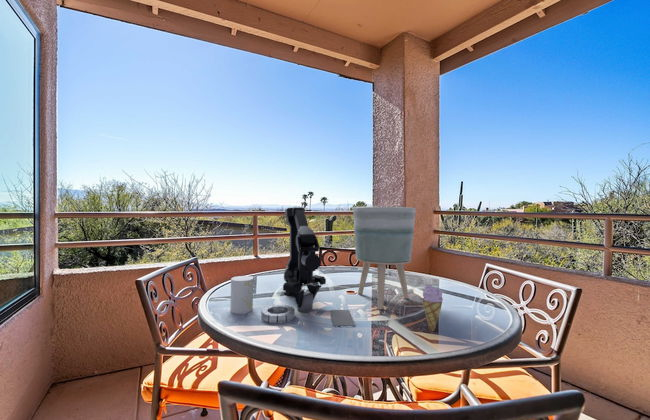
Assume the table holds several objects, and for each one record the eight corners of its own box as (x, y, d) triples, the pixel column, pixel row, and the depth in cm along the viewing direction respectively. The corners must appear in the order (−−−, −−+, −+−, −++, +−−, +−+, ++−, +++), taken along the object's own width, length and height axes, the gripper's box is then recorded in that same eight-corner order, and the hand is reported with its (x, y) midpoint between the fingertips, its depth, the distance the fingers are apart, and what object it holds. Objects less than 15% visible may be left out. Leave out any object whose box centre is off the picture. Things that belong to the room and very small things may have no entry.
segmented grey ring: (279, 309, 110) (279, 302, 110) (300, 316, 103) (301, 309, 103) (254, 317, 101) (255, 310, 101) (276, 326, 94) (277, 318, 94)
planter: (418, 297, 130) (420, 208, 130) (406, 315, 106) (408, 207, 106) (363, 288, 142) (364, 207, 142) (341, 303, 118) (343, 206, 119)
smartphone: (333, 325, 94) (329, 309, 109) (333, 328, 94) (329, 312, 109) (355, 325, 95) (349, 309, 110) (355, 328, 95) (349, 312, 110)
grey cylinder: (246, 314, 104) (247, 281, 104) (226, 312, 106) (226, 280, 106) (256, 307, 112) (256, 276, 112) (237, 305, 114) (237, 275, 114)
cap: (304, 306, 114) (304, 289, 115) (315, 309, 111) (316, 292, 111) (293, 309, 110) (294, 292, 110) (305, 313, 106) (305, 295, 106)
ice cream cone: (418, 326, 96) (418, 281, 96) (435, 325, 97) (436, 281, 97) (426, 334, 90) (427, 286, 90) (445, 334, 90) (446, 286, 90)
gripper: (306, 259, 123) (305, 296, 123) (273, 265, 108) (272, 307, 108) (326, 263, 116) (326, 301, 116) (294, 270, 101) (293, 314, 101)
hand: (304, 305), depth 110 cm, fingers closed on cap, 6 cm apart
